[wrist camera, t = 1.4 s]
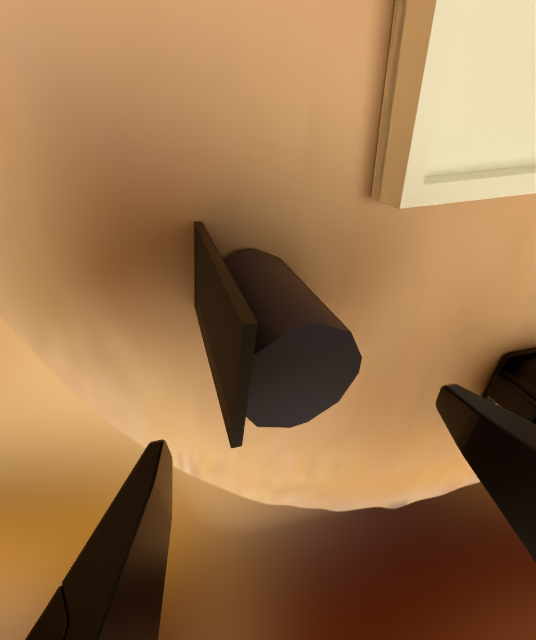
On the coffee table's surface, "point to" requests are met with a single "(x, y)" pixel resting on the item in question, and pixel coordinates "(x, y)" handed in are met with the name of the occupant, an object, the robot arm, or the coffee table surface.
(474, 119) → the tray
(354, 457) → the coffee table surface
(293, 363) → the speaker
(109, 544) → the robot arm
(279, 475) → the coffee table surface
